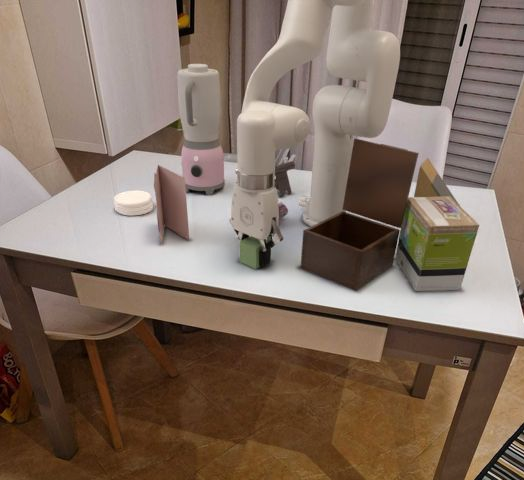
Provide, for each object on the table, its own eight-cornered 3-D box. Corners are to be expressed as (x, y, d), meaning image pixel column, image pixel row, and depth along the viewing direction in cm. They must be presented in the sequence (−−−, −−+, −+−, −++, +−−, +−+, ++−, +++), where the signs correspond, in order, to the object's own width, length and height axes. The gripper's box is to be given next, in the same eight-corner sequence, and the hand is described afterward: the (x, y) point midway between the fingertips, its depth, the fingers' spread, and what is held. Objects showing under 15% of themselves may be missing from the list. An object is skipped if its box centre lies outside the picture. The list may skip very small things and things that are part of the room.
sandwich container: (469, 236, 124) (486, 175, 115) (407, 224, 129) (419, 165, 120) (473, 223, 130) (490, 165, 121) (414, 213, 135) (426, 156, 126)
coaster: (108, 212, 132) (105, 199, 130) (129, 200, 139) (127, 187, 137) (140, 218, 129) (138, 205, 127) (160, 205, 136) (159, 193, 134)
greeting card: (161, 225, 126) (154, 164, 117) (190, 224, 127) (186, 164, 117) (157, 244, 117) (149, 181, 108) (189, 244, 118) (184, 180, 108)
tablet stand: (277, 185, 151) (278, 156, 146) (296, 191, 147) (298, 162, 142) (256, 192, 146) (257, 163, 141) (276, 199, 142) (277, 169, 136)
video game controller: (251, 233, 127) (257, 214, 121) (244, 219, 128) (250, 200, 122) (285, 226, 130) (292, 207, 124) (278, 213, 132) (285, 194, 126)
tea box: (392, 258, 113) (405, 195, 104) (435, 257, 114) (451, 194, 105) (414, 292, 102) (430, 224, 93) (461, 291, 102) (482, 223, 93)
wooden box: (356, 291, 102) (362, 252, 96) (300, 267, 109) (303, 230, 104) (392, 266, 110) (400, 229, 105) (338, 246, 118) (342, 211, 113)
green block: (239, 261, 111) (239, 241, 108) (254, 254, 114) (254, 234, 111) (255, 269, 108) (256, 248, 105) (270, 261, 111) (271, 240, 108)
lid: (417, 153, 96) (428, 150, 99) (354, 138, 104) (366, 136, 107) (399, 228, 105) (410, 223, 108) (342, 209, 112) (354, 205, 115)
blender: (191, 179, 154) (183, 60, 134) (229, 182, 152) (227, 63, 132) (173, 196, 142) (161, 69, 122) (214, 201, 140) (209, 72, 120)
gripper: (213, 173, 102) (216, 254, 113) (276, 194, 93) (273, 279, 104) (238, 165, 107) (239, 243, 118) (300, 184, 98) (295, 267, 109)
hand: (255, 259), depth 111 cm, fingers closed on green block, 5 cm apart
